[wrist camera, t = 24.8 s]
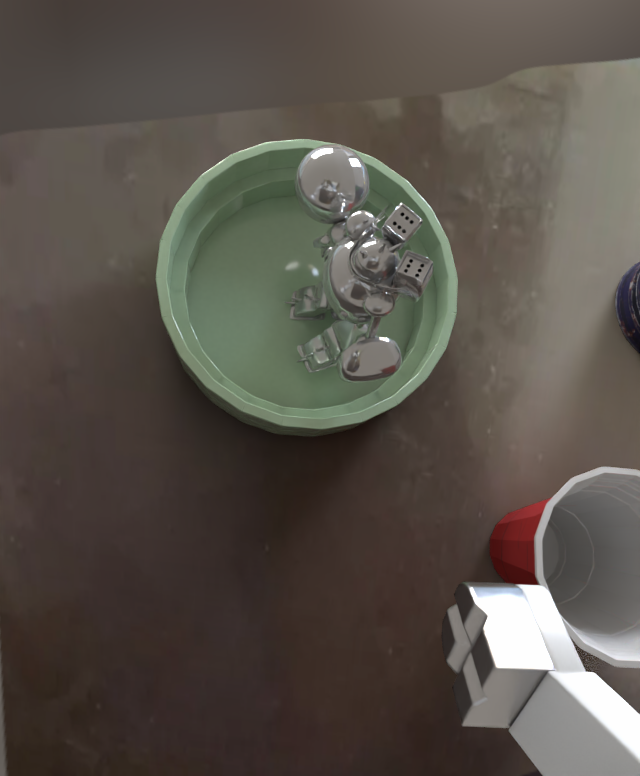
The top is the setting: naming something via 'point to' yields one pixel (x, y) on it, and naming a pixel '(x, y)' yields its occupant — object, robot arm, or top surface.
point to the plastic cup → (582, 559)
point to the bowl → (286, 294)
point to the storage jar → (629, 305)
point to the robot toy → (354, 268)
